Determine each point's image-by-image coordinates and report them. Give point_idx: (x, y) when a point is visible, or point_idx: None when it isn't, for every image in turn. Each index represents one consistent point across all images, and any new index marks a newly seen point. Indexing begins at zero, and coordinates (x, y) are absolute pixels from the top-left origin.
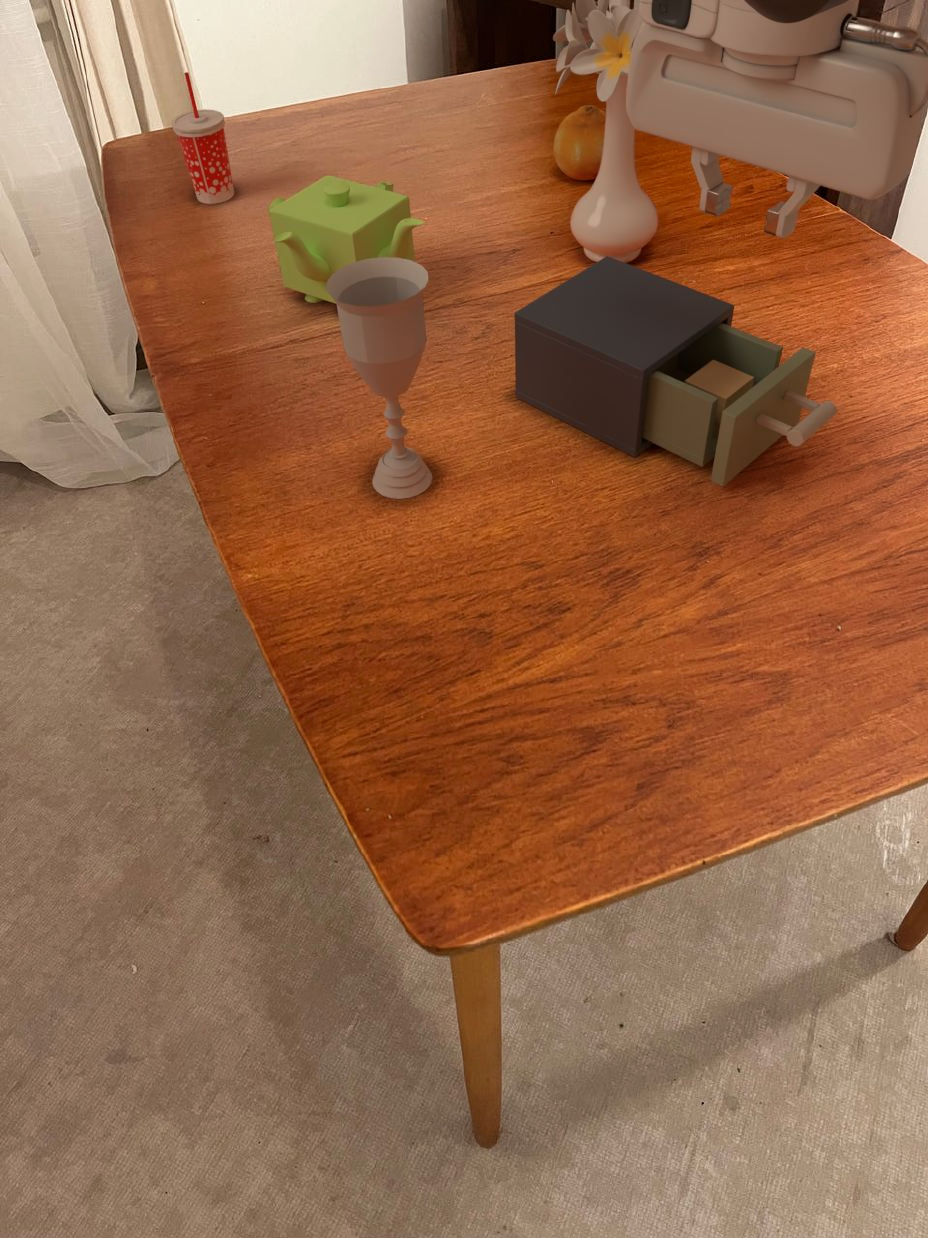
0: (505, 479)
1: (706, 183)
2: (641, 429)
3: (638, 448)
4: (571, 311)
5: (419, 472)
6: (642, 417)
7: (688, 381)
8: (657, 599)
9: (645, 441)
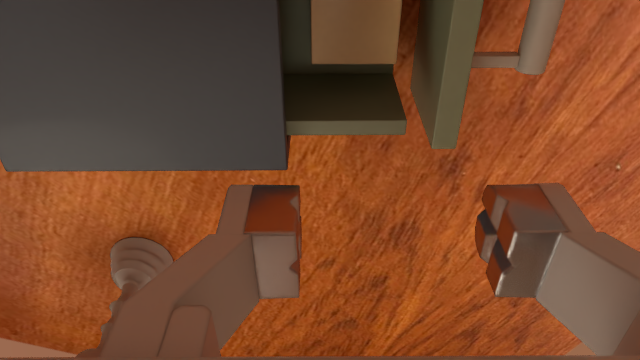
0: (213, 205)
1: (243, 319)
2: None
3: None
4: (59, 113)
5: (158, 269)
6: None
7: (318, 63)
8: (445, 233)
9: None
